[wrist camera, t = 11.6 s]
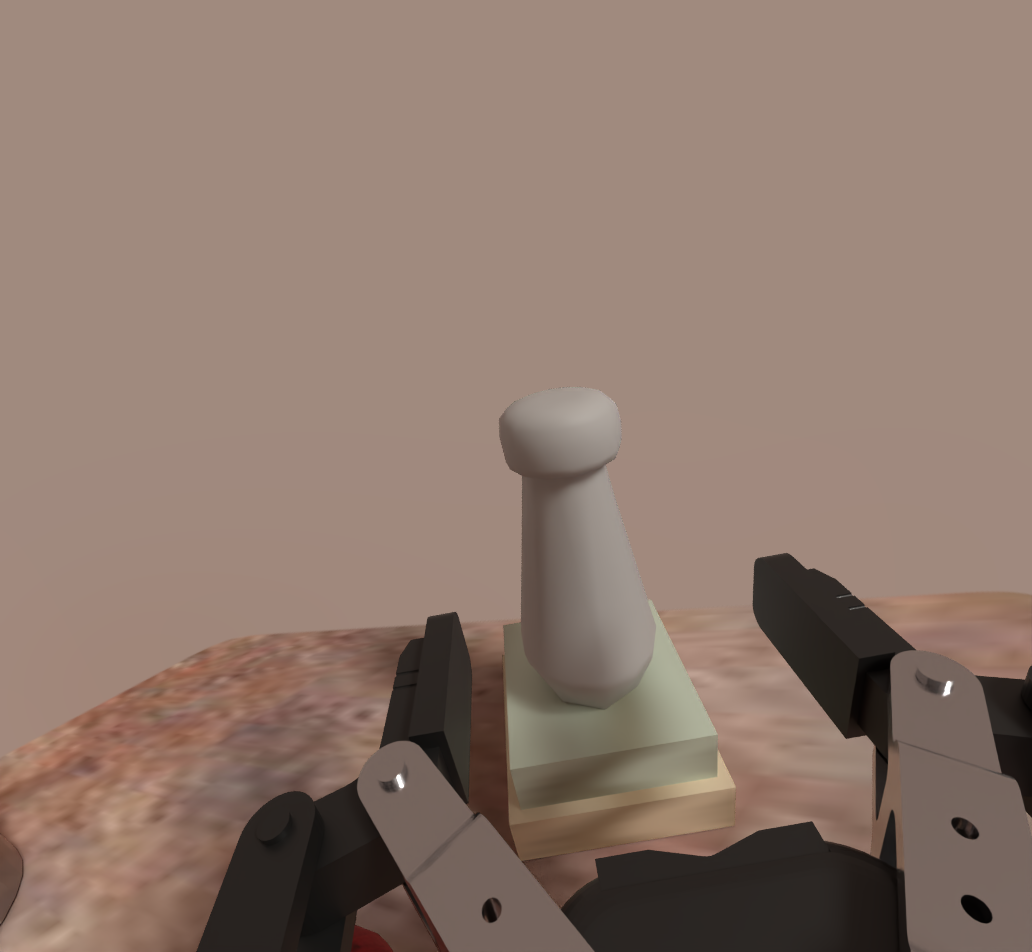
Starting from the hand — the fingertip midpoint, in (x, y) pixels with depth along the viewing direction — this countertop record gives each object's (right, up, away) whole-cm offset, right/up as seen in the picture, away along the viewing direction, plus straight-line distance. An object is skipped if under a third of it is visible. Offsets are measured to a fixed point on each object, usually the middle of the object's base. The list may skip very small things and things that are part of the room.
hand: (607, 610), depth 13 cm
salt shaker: (+1, -5, +9) cm, 11 cm away
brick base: (+2, -10, +11) cm, 15 cm away
